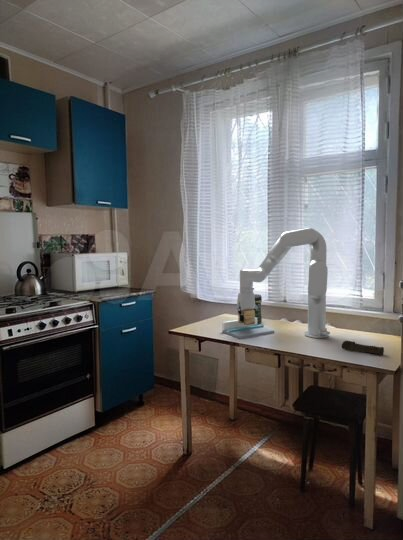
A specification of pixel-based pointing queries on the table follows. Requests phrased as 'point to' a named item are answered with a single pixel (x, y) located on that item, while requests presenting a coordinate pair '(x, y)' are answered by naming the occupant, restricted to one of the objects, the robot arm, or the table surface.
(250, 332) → the cleat board
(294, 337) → the table surface
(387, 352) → the table surface
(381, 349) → the hand tool
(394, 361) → the table surface
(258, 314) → the coffee jar
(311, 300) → the robot arm
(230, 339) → the table surface
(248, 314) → the oak block
